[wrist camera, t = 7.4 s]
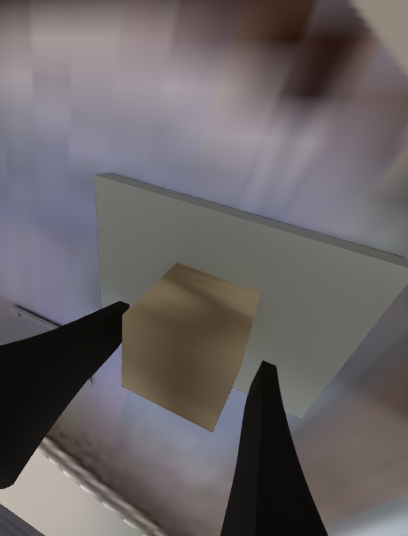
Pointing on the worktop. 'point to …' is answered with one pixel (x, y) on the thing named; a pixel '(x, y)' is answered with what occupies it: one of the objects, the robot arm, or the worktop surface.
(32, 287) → the worktop surface
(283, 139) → the worktop surface
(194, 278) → the maple cube
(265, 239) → the gray board
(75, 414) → the worktop surface
